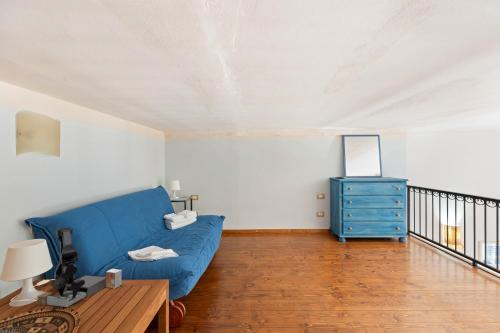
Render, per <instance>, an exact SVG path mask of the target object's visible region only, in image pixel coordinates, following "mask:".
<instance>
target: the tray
mask: <svg viewBox="0 0 500 333" xmlns="http://www.w3.org/2000/svg"><path fill="white" fill-rule="evenodd" d="M70 292H73V290H68V291H66V290H65V291H64V293H63V294H66V293H70ZM85 297H86V298H87V291H81V290H79V291H78V293H77V295H76V297H75V298H74V299H72V300H69V298H60V294H58V295H56V296H53V297H52V296H48V297H47V304H46V306H47V305H48V306H55V307H65V308H68V307H69V306H71V305H73V304H75V303H78V302H79V301H80V300H82V299H84V298H85Z"/></svg>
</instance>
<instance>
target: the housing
mask: <svg viewBox="0 0 500 333" xmlns="http://www.w3.org/2000/svg"><path fill="white" fill-rule="evenodd" d="M79 279H80V280H85V284H84V285H83V286H81V288H80V289H86V292H87V296H86V298H90V297H91V296H92V295H95V294H97V293H98V292H99V291H102V290H103V289H104V288H107V287H106V276H104V277H103V276H96V275H95V276H94V275H84V276H81V277H80V278H76V280H74V281H77V280H79ZM71 288H72V287H71V285H68V284H67V285H66V286H65V292H66V291H68V290H72V289H71Z"/></svg>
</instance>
